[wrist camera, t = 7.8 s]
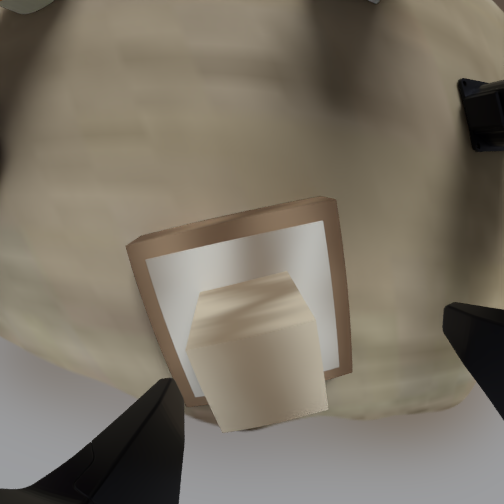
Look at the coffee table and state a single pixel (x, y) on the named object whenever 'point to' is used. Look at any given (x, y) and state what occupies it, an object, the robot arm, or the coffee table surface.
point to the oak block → (257, 353)
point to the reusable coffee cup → (24, 5)
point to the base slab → (245, 275)
